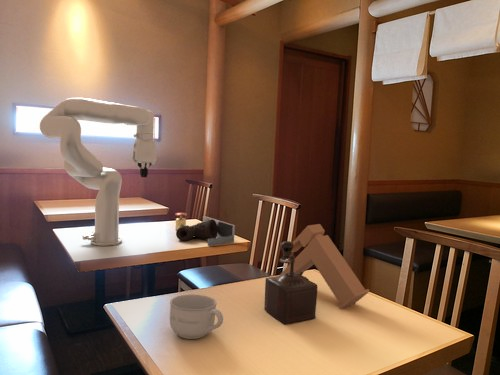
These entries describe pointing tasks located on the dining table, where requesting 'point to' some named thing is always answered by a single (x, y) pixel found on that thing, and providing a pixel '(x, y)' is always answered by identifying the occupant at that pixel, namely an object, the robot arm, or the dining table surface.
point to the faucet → (327, 265)
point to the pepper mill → (290, 293)
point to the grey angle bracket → (221, 232)
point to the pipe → (198, 231)
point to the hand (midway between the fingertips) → (143, 177)
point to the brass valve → (180, 220)
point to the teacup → (194, 315)
